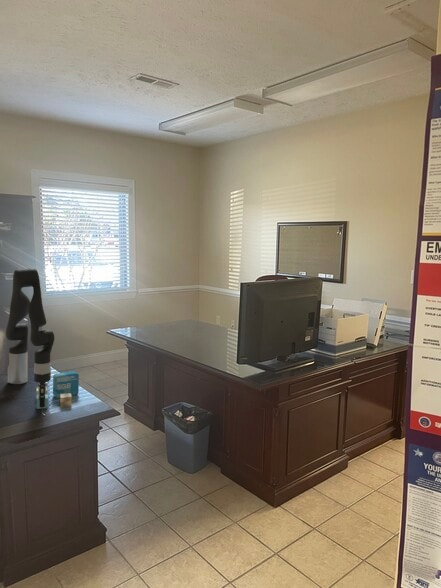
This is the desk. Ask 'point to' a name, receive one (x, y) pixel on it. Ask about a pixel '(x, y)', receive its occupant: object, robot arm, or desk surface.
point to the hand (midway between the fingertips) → (42, 404)
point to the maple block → (65, 400)
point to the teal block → (45, 402)
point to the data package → (65, 383)
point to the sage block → (38, 394)
